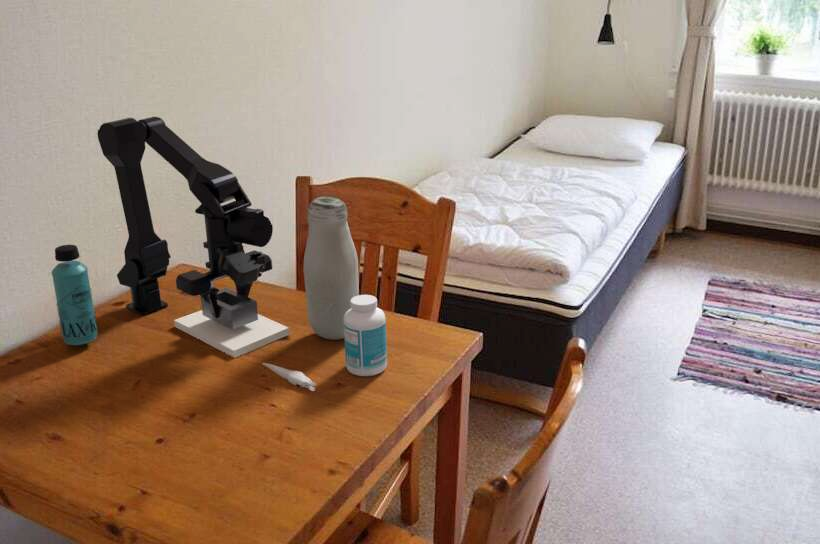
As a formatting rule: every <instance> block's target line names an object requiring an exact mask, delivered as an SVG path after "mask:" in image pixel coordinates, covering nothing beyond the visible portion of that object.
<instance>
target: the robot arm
mask: <svg viewBox="0 0 820 544" xmlns="http://www.w3.org/2000/svg"><path fill="white" fill-rule="evenodd" d="M97 139H98V142H99V145H100V148H101V149H100V150H101V152H102V154H103V156H104V157H105V158H106V160H107V161H108V162H109V163H110V164H111V165H112V167H113V169H114V171H115V176H116V181H117V185H118V189H119V195H120V199H121V204H122V209H123V213H124V220H125V224H126V228H127V232H128V238H127V242H126V244H125V248H124V265H123V266H122V267H121V269H120V270H119V271H118V273H117V275H116V277H117V280H118V283H119V284H120V285H121V286H125V287H128V288H129V289H130V295H131V302H130V303H126V304H125V307H126V308H127V309H129V310H131V311H133V312H134V313H136V314H139V315H141V316H142V315H146V314H149V313H153V312H155V311H158V310H160V309H161V310H162V309H163V308H166V307H168V306H169V304H168V302H166V301H164V300H162V299H161V291H160V286H159V280H158V279H159V278H162V277H165V276H166V275H167V271H168V266H170V259H171V258H172V257H171V254H170V252H169V246H168V245H169V244H168V241H167V240H166V239H161V237H159V235H158V234H157V233H156V232H155V230H154V224H153V219H152V214H151V209H150V204H149V199H148V193H147V190H146V184H145V178H144V174H143V169H142V164H141V163H142V159H143V157H144V154H145V151H146V144H147V145H148V146H149V147H150V148H152V150H154V151H155V152H156V153H157V154H158V155H159V156H160V157H162V159H164V160H165V161H166V162H167V163H168V164H169V165H171V167H173V169H175V170H176V171H177V172H178V173H179V174H181V175H182V176H183V177H184V178H185V180H186V181H187V185H188V188H189V191H190V192H191V194H192V195H193V196H194V197H195V198H196V199H197V200H198V201H199V202H200V205H199V206H198V207H197V208H196V209H195V210H194V213H196V214H197V215H198V214H199V215H204V216H203V217H204V225H205V234H206V241H204V242H202V243H203V244H202V245H203V249H207V254H208V261H206V262H205V268H206V269H209V271H207V272H205V273H202V272H200V271H197V270H196V269H192V270H189V271H187V272H184V273H183V272H182V273H179V274H178V275H177V277H176V279H175V284H176V290H178V291H181V292H184V293H185V294H187V295H189V296H192V297H194V296H195V297H196V296H199V297H200V299H201V298H202V299H203V301H204V302H205V304H206V305H207V307H208V309H209V310H210V312H211V314H212V315H213V317H214V318H218V305H217V297H216V295H217V293H218V291H219V290H220V289H219V288H217V287H215V281H218V280H221V279H223V278H226V277H228V278H230V279H231V280H232V281H233V283H234V285H235V289H236V292H237V293H239V294H241V295H244V296H246V297H248V298H249V295H250V292H251V288H252V285H253V284H254V282H256V281H258V278H261V277H262V275H263V273H266V272H269V271H270V270H271V271H272V270H273V260H272V259H271V258H272V257H270V256H269V255H267V254H265V253H263V252H262V251H257V250H255V249H254V250H252V251H249V252H248V251H247V252H245V249H244V245H249V246H252V247H253V246H254V247H258V248H264V247H266V246H267V245H268V244H269V242H270V241H271V239H272V236H273V232H274V231H273V230H274V229H273V224H272V223H271V220H270V218H269V217H268V216H265V211H264V210H263V209H262V208H251V207H252V202H251V200H250V199H249V197H248V195H247V193H245V191H244V189H243V187H242V186H241V184H240V183H239V179H238V178H237V176H236V175H235V174H234V172H232V171H231V170H229V169H227V168H226V167H224V166H222V165H221V164H219V163H216V162H212V161H209V160H207V159H205V158H204V157H203V156H201V155H200V154H199V153H198V152H197V151H196V150H194V148H192V147H191V146H190V145H189V144H187V142H185V141H184V140H183V139H182V138H181V137H180V136H179V135H177V134H176V133H175V132H174V131H173V130H172V129H170V128H169V127H168V126H167V125H166V123H165V121H164V119H163V118H161V117H160V116H159V117H158V116H151V117H145V118H142V119H139V120H136V119H135V118H133V117H126V118H122V119H117V120H113V121H109V122H104V123H102V124H101V125H100V127H99V129H97ZM233 200H234V201H233ZM229 201H232V202H229ZM226 202H228V203H226ZM224 203H226V204H224ZM221 204H223V205H221ZM243 244H244V245H243Z"/></svg>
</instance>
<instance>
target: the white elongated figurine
mask: <svg viewBox="0 0 820 544" xmlns="http://www.w3.org/2000/svg"><path fill="white" fill-rule="evenodd" d="M262 365H263V366H265V367H266V368H268V369H270V370H271V371H272V372H274V373H276V374H277V375H278V376H280V377H281V378H284V379H285V380H288V382H289V383H290V384H291V385H293V386H297V385H298V386H299V387H301V388H306V389H308V390H309V391H310V392H314V391H316V388H315V387H316V386H317V385H318V384H317V382H313V381H312V380H311V378H309V377H308V376H306V374H305V373H303V372H302V371H298V370H290V369H287V368H285V367H281V366H278V365H274V364H271V363H265V362H262Z"/></svg>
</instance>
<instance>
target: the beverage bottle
mask: <svg viewBox="0 0 820 544" xmlns="http://www.w3.org/2000/svg"><path fill="white" fill-rule="evenodd" d="M54 254H55V255H54V258H55V261H57V262H60V263H57V265H55V267H54V268H53V269H52V270H51V276H52V281H53V288H54V293H55V298H56V299H55V300H56V307H57V308H56V310H57V314H58V315H57V317H58V319H59V320H58V321H59V322H58V323H59V328H60V331H61V337H62V340H63V342H64V343H65V344H66V345H70V346H71V345H72V346H79V345H85V344H88V343H90V342H93V341H94V340H96V339H97V338H98V333H99V330H98V322H97V316H96V312H95V309H96V308H95V306H94V301H93V295H92V288H91V285H90V277H89V272H88V266H87V265H86V264H85V263H83V262H81V261H78V260H77V259H79V258H80V252H79V249H78V247H77V245H75V244H63V245H60V246H59V245H58V246H57V247H55V249H54Z"/></svg>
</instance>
